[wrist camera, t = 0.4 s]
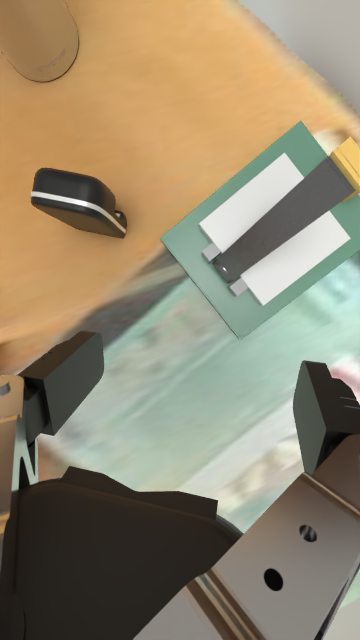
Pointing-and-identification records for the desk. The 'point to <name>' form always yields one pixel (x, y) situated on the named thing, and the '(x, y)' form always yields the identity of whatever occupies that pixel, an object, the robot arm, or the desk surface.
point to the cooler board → (197, 242)
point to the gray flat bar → (286, 219)
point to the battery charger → (78, 201)
